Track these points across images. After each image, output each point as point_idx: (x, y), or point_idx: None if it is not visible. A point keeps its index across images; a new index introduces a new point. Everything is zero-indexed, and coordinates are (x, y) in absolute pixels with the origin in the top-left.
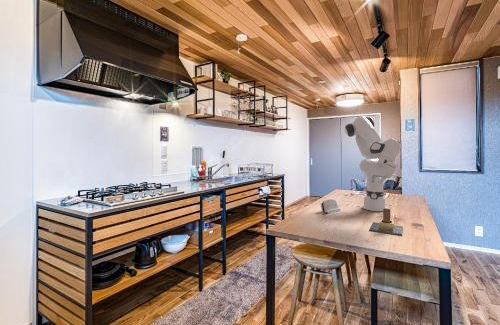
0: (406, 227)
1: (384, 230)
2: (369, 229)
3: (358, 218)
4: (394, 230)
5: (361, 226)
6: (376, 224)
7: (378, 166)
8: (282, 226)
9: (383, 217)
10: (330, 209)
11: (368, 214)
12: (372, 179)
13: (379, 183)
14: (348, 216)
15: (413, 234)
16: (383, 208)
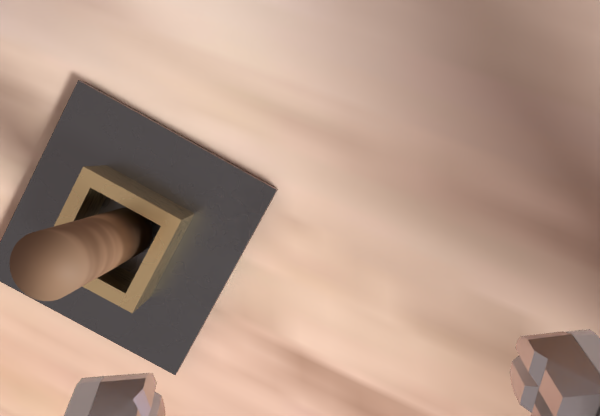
0: (194, 400)
1: (53, 183)
2: (80, 81)
3: (444, 125)
4: None
5: (196, 61)
6: (209, 189)
7: None
8: None
9: (91, 218)
10: None
11: (587, 272)
12: (562, 398)
13: (104, 382)
14: (515, 53)
15: (33, 362)
16: (56, 234)
